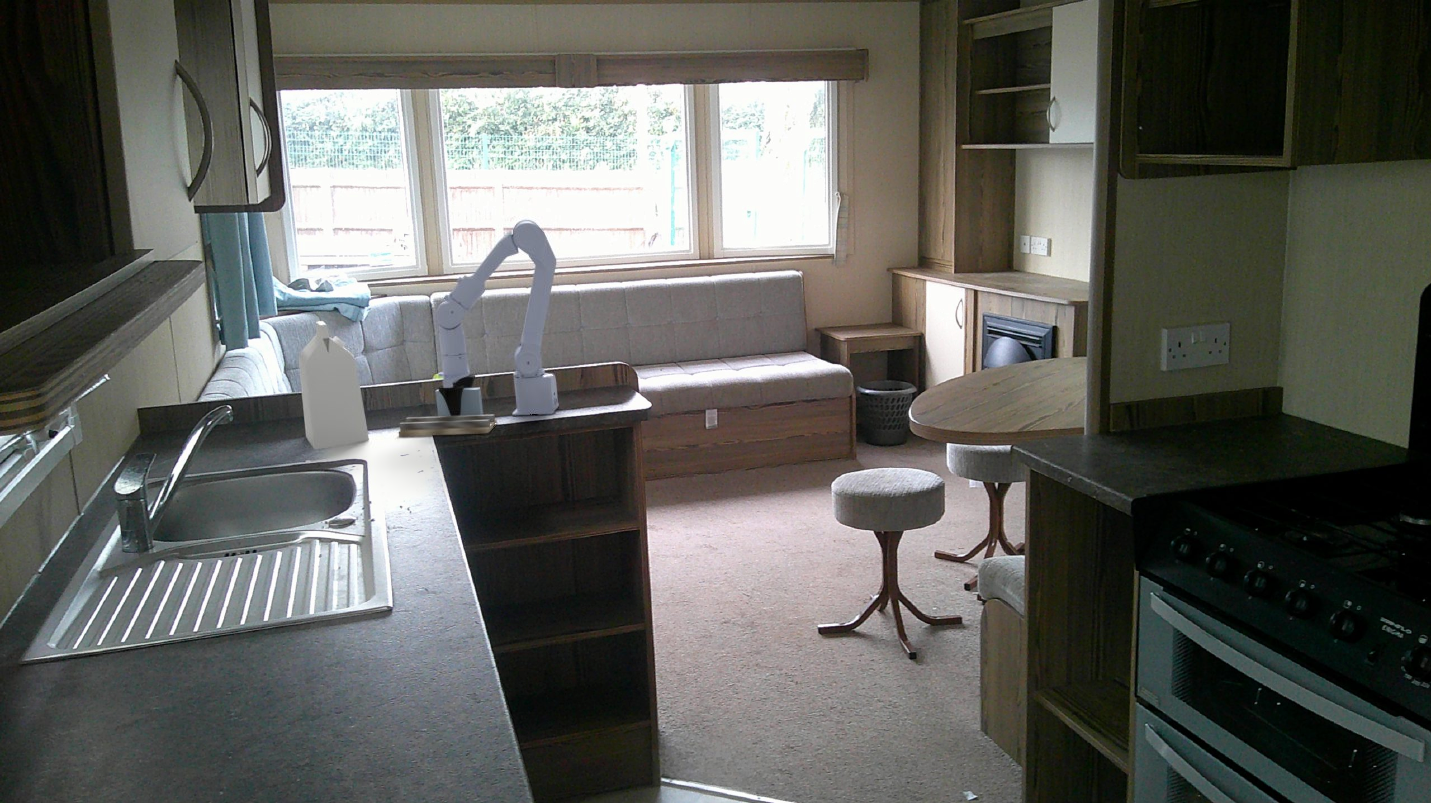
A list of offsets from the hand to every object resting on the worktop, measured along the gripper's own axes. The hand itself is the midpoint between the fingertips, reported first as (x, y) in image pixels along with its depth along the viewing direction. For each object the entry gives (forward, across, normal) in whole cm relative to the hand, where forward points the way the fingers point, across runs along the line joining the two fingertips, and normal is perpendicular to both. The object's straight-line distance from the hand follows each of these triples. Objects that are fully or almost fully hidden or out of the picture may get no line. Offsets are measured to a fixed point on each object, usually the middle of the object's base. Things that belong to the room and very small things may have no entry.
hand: (460, 411), depth 264 cm
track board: (+2, +10, 0) cm, 10 cm away
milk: (+2, +14, -24) cm, 28 cm away
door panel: (+2, 0, 0) cm, 2 cm away
